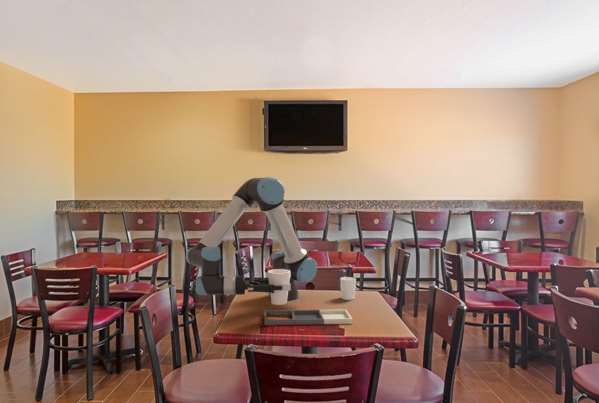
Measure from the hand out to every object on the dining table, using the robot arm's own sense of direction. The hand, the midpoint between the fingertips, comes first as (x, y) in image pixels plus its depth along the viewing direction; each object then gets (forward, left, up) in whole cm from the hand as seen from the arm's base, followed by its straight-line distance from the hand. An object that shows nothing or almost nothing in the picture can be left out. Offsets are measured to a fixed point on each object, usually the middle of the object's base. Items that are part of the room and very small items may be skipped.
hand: (289, 284), depth 165 cm
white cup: (-5, +45, -15) cm, 48 cm away
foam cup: (-3, -3, -8) cm, 9 cm away
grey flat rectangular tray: (+5, +6, -15) cm, 16 cm away
